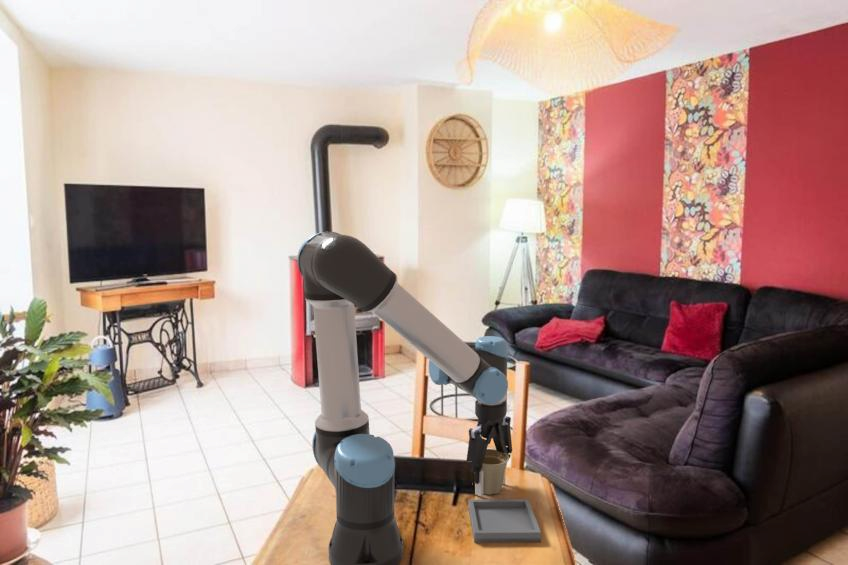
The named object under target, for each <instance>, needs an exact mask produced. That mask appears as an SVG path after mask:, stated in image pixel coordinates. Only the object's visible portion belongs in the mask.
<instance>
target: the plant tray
mask: <svg viewBox="0 0 848 565" xmlns="http://www.w3.org/2000/svg"><path fill="white" fill-rule="evenodd" d="M468 508H469V509H468V514H469V518H470V520H469V521H470V524H471V530H472V531H471V533H472V536H473V543H476V544H477V543H486V544H487V543H541V540H542V537H541V535H542V532H541V529H540V526H539V524H538V520H537V518H536V516H535V513H534V510H533V508H532V504H531V503H530V499H529V498H527V499H526V498H525V499H524V498H520V499H519V498H518V499H517V498H515V499H514V498H513V499H511V498H510V499H499V498H498V499H468Z"/></svg>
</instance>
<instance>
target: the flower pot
mask: <svg viewBox="0 0 848 565" xmlns="http://www.w3.org/2000/svg"><path fill="white" fill-rule="evenodd" d="M509 460H510V458H509V456H508V455H507V454H506V453H502V452H499V451H497V450H496V448H487V450H486V454H485V457H484V461H483V464H482V468H481V470H484V477H483V495H487V496H489V495H491V496H492V495H493V494H495V495H497V494H499V493H501V491H502V488H503V484H502V483H503V478H504V472H505V467H506V468H507V464H508V462H509ZM477 466H478V465H477Z"/></svg>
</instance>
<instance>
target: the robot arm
mask: <svg viewBox="0 0 848 565" xmlns="http://www.w3.org/2000/svg"><path fill="white" fill-rule="evenodd" d="M296 259H297V261H296V262H297V268H298V271H299V272H300V275H301V276H302V278H303V290H304V299H305V301H306V302H308V303H309V304H310V305H311V306H312V307H313V308H312V310H313V320H314V322H313V323H314V334H315V335H314V336H315V347H316V360H317V371H318V385H319V386H318V387H319V397H320V410H321V411H320V412H321V413H320V414H319V416H317V418H316V419H315V421H314V426H315V432H314V434H313V436H312V441H311V447H312V452H313V456H314V459H315V462H316V463H317V465H318V466H319V467H320V468H321V470H322V471H323V472H324V474H325V476H326V477H327V479H328V480H329V481H330V483H331V484H332V486H333V487H334V489H335V494H336V495H335V500H336V501H335V506H336V508H335V509H336V520H335V524H334V527H333V530H332V535H331V538H330V539H329V543H328V561H329V564H330V565H399V564H400V563H401V561H402V560H403V557H404V540H403V537H402V535H401V534H400V530H399V526H398V523H397V521H396V517H395V470H396V461H395V457H394V456H395V455H394V454H395V453H394V450H393V447H392V445H391V444H390V442H388V441H387V440H386V439H384V438H382V437H380V436H375V435H373V434H370V431H371V430H370V418H369V415H368V413H366V412H365V411H364V410H363V409H362V405H361V404H362V402H361V389H360V387H361V386H360V374H359V358H358V342H357V340H358V339H357V330H356V329H357V328H356V315H355V313H356V312H355V306H356V308H358V309H360V310H361V311H362V312H363V313H365V314H367V313H372V314H374V315H375V316H376V318H378V319H380V320H381V321H382V322H383V323H385V324H386V326H388V327H389V328H390V329H392V330H393V331H394V332H395V333H397V334H398V335H399V336H400V337H401V338H402V339H403V340H405V341H406V342H407V343H409V344H410V345H411V346H412V347H413V348H414V349H416V350H417V351H418V352H419V353H421V354H422V355H423V356H424V357H425V358H426V359H427V360H428V374H429V377H430V380H431V381H432V382H433V383H434V384H435V385H437V386H441V385H442V386H443V385H444V386H447V385H450V384H452V385H454V387H456V388H458V389H460V391H461V390H462V391H463V392H465V393H467V394H468V395H470V396H472V397H473V398H475V400H474V404H475V406H474V415H475V416H476V417H477V420H478V421H477V423H476V424H477V425H476V427H475V428H469V429H468V436H469V440H468V447H467V455H466V461H472V462H470V463H472V468H471V470H470V471H471V472H472V471H474V472H475V474H474V483H475V494H474V495H476V496H477V497H478V496H479V497H480V498H481V497H483V496H484V494H483V477H484V470H481V468H482V464H483V461H484V457H485V454H486V450H487V449H488V448H489V447H488V446H489V444H491V441H492V440H493V445H494V446H495V447H494V448H495V449H496V450H497V451H499V452H502V453H506V454H507V455H508V456H509V459H510V458H511V454H512V453H513V444H512V434H511V432H512V431H511V421H512V418H511V417H510V416H508V415H507V402H506V400H507V392H508V390H509V382H508V381H509V380H508V358H509V356H508V342H507V341H506V339H504V338H503V337H499V336H493V335H486V336H481V337H478V338H477V339H476V342H475V345H474V347H470V346H469V345H468V344H467V343H466V342H465V341H463V339H461V338H460V337H459V336H458V335H456V334H455V332H453V331H452V330H451V329H450V328H449V327H448V326H447V325H445V324H444V322H442V321H441V320H440V319H439V318H437V317H436V316H435V315H434V314H433V313H432V312H431V311H430V310H429V309H427V307H425V306H424V305H423V304H422V303H421V302H420V301H418V300H417V299H416V298H415V297H413V295H412V294H410V292H409V291H407V290H406V289H405V288H404V287H403V286H402V285H401V284H400V283H398V275H397V274H396V273H395V272H394V271H392V269H391V268H389V267H388V266H387V265H386V264H385V263H384V262H383V261H382V260H381V259H380V258H379V257H378V256H377V255H376V254H375V253H374V251H372V250H371V249H370V248H369V247H368V245H366V244H365V243H364V242H363V241H361V240H360V239H358V238H357V237H354V236H351V235H348V234H341V233H339V232H335V231H325V232H318V233H314V234H313V235H311V236H308V238H306V239H305V240H304V241H303V243H302V245H301V246H300V248H299V250H298V253H297V258H296ZM477 465H478V466H477ZM506 470H507V466H506V467H505V472H504V478H503V483H502V485H505V484H506Z"/></svg>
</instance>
